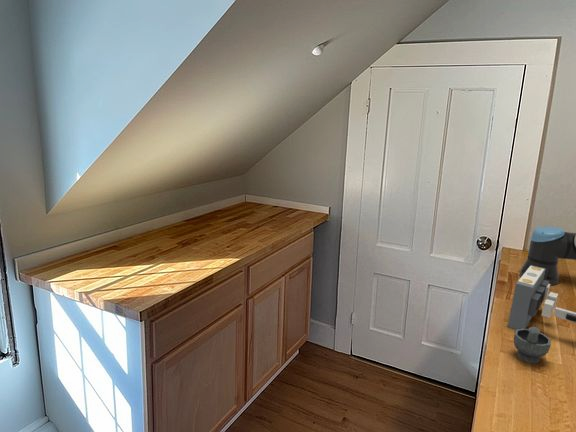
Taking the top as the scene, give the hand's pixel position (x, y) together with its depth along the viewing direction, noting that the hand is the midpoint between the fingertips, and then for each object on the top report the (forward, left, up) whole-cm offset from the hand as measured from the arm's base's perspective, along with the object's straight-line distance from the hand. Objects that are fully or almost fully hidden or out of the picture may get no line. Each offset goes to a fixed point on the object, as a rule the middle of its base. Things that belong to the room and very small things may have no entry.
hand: (554, 311), depth 142 cm
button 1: (-1, -2, -2) cm, 3 cm away
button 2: (-17, -6, -2) cm, 17 cm away
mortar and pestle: (+20, -3, -9) cm, 23 cm away
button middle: (-9, -2, -2) cm, 9 cm away
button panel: (-9, -10, -9) cm, 15 cm away
